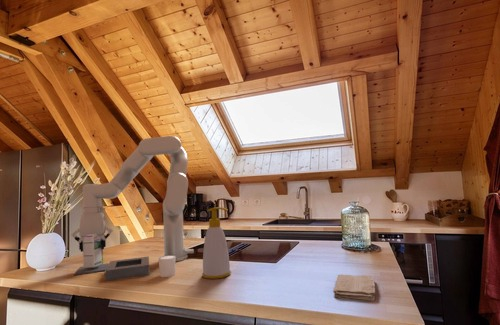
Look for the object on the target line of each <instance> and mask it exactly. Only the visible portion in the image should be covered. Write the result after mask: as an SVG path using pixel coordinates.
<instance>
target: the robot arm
mask: <svg viewBox="0 0 500 325" xmlns="http://www.w3.org/2000/svg"><path fill="white" fill-rule="evenodd" d="M159 155H167V156H168V157H169V159H170V164H169V165H170V168H169V172H168V173H169V174H168V177H167V180H166V185H167V186H166V192H165V198H164V200H163V201H162V213H163V253H164V256H176V261H175V262H180V261H184V260H186V259H188V254H194V253H195V251H194V249H193V248H189V249H187V248H185V239H184V237H185V234H184V209H185V206H186V201H187V196H188V188H189V180H188V176H187V172H188V166H189V165H188V163H189V159H188V155H187V152H186V150H185V149H184V148H183V147H182V141H181V139H179V138H178V136H173V135H167V136H157V137H148V138H143V139H142V140H140V142H138V146H137V147H136V148H135V149H134V150H133V152H132V153H131V154H130V155H129V156H128V157H127V158H126V159H125V160H124V161H123V163H122V164H121V167H120V168H119V171H118V172H117V173H116V175H114V176H113V178H112V179H111V180H110V181H109V182H106V183H100V184H99V183H89V184H84V185H83V186H82V214H81V216H80V220H79V228H78V229H77V230H75V231H74V232H72V233H71V237H72V238H73V239H74V240H75V241H76V242H77V243H78V248H79V249H78V250H79V251H80V252H81V253H83V238H84V237H86V236H87V234H97V236H101V238H102V249H103V250H104V249H105V248H106V247H107V243H106V240H107V239H108V238H109V237H110V235H111V234H112V232H113V229H112V228H110V227H109V226H106V220H105V218H106V217H105V214H104V213H103V212H104V211H106V208H105V207H103V205H102V199H103V200H104V199H105V200H106V199H107V200H110V199H111V200H112V199H115V198H117V197H119V195H120V194H122V192H123V191H124V190H125V189H126V188H127V186H128V185H129V184H130V183H131V182H132V181H133V179H134V178H136V177H137V175H138V174H139V173H140V172H141V171H142V170H143V168H144V167H145V166H146V165H147V164H148V163H149V162H150V161H151V160H152V159H153V158H154V156H159ZM106 231H107V234H105V233H106ZM77 234H78V235H79V236H78V235H77Z"/></svg>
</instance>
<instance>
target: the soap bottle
mask: <svg viewBox="0 0 500 325" xmlns="http://www.w3.org/2000/svg"><path fill="white" fill-rule="evenodd" d="M218 210H222V211H224V212H228V211H229V209H228V208H226V207H221V206H218V207H216V206H215V207H211V208H209V209H207V210H206V212H211V218H210V219H209V220H208V223H209V224H208V225H209V226H208V228H207V230H206V233H205V236H204V237H205V238H204V242H203V243H204V244H203V250H202V251H203V252H202V254H203V255H202V273H201V276H202V277H203V278H205V279H210V280H218V279H223V278H226V277H229V276H230V275H231V273H232V271H231V270H230V267H231V266H230V265H231V264H230V256H229V248H228V243H227V239H226V238H227V237H226V235H225V232H224V230H223V228H222V226H221V218H218V214H217V213H218V212H217V211H218Z"/></svg>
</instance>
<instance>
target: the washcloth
mask: <svg viewBox="0 0 500 325" xmlns="http://www.w3.org/2000/svg"><path fill="white" fill-rule="evenodd" d="M374 278H375V277H374V275H366V274H364V275H362V274H361V275H352V274H351V275H350V274H337V277H336V280H335V284H334V288H333V294H334V295H333V298H339V299H340V300H341V299H343V300H349V301H350V300H353V301H364V302H374V301H375V298H376V284H375V279H374Z"/></svg>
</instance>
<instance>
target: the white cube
mask: <svg viewBox="0 0 500 325" xmlns="http://www.w3.org/2000/svg"><path fill="white" fill-rule="evenodd" d="M157 259H158V267H159V276H160V277H161V278H170V277H173V276H175V274H176V262H177V261H176V256H160V257H158V258H157Z"/></svg>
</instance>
